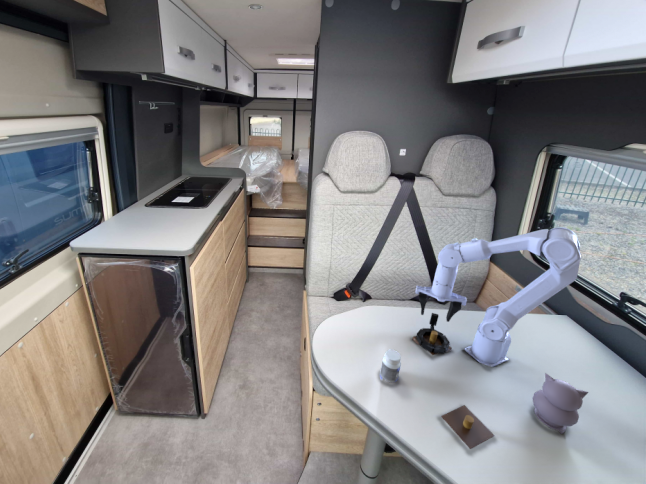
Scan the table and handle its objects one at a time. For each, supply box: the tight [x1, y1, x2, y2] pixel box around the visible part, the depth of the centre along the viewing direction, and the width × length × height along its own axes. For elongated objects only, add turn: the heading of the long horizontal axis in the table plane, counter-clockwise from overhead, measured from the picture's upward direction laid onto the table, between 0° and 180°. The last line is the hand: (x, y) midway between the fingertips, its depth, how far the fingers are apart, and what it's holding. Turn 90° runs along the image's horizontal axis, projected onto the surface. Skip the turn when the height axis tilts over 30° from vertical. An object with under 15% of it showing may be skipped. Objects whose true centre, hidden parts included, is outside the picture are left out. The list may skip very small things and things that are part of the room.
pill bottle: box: [379, 348, 402, 383], centre depth 83 cm, size 5×5×8 cm
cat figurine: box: [532, 372, 589, 435], centre depth 73 cm, size 8×8×12 cm
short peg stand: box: [440, 404, 496, 450], centre depth 71 cm, size 8×8×4 cm
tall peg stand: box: [411, 331, 452, 356], centre depth 96 cm, size 8×8×5 cm
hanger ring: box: [415, 312, 451, 355], centre depth 96 cm, size 12×9×6 cm
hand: (434, 316), depth 100 cm, fingers open, 7 cm apart
